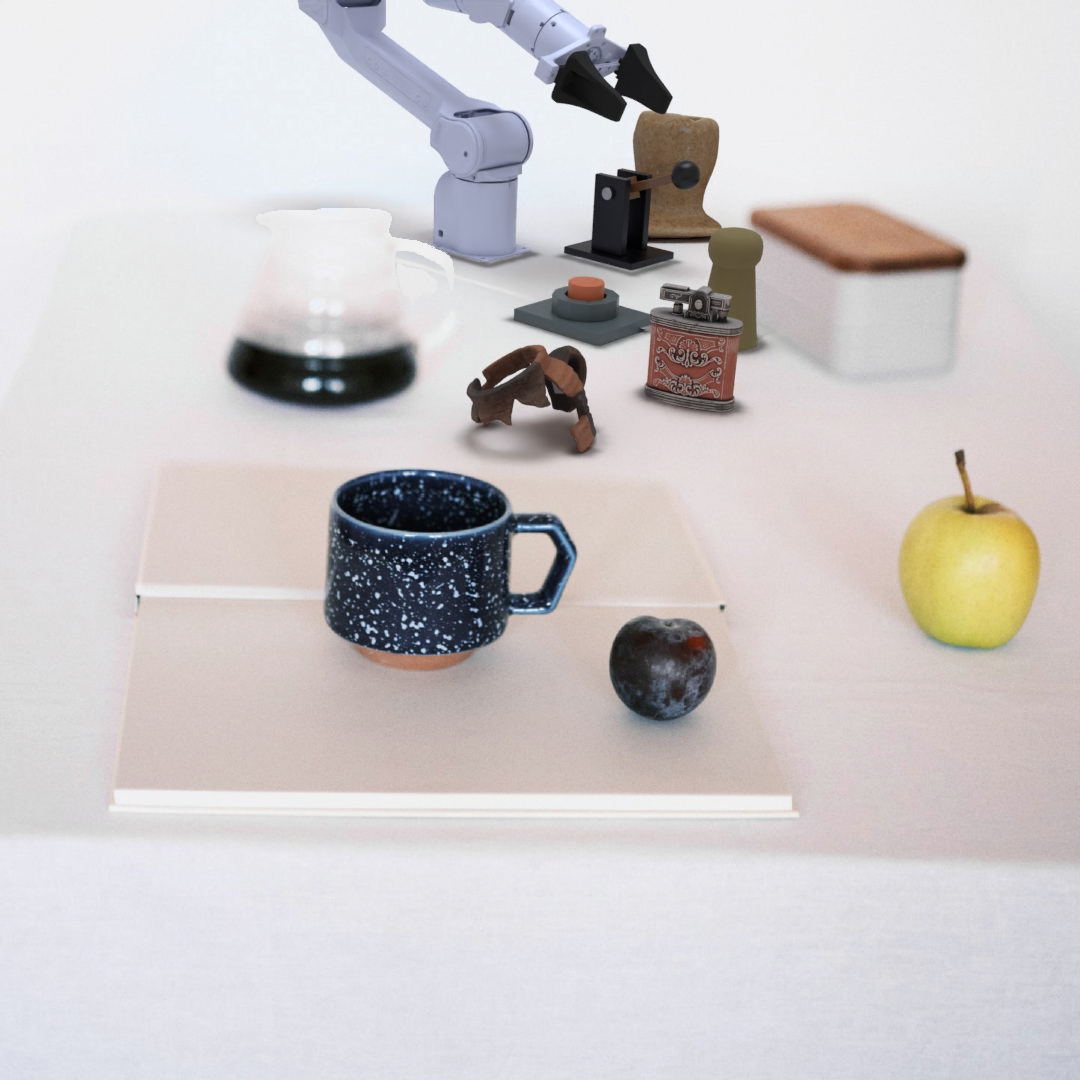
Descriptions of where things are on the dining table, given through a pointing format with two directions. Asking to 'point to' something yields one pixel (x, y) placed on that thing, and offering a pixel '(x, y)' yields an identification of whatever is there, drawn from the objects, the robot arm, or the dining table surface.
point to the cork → (737, 276)
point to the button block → (584, 317)
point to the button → (586, 288)
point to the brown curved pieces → (535, 387)
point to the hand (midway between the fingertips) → (644, 109)
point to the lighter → (693, 349)
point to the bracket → (620, 225)
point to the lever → (669, 179)
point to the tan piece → (657, 153)
